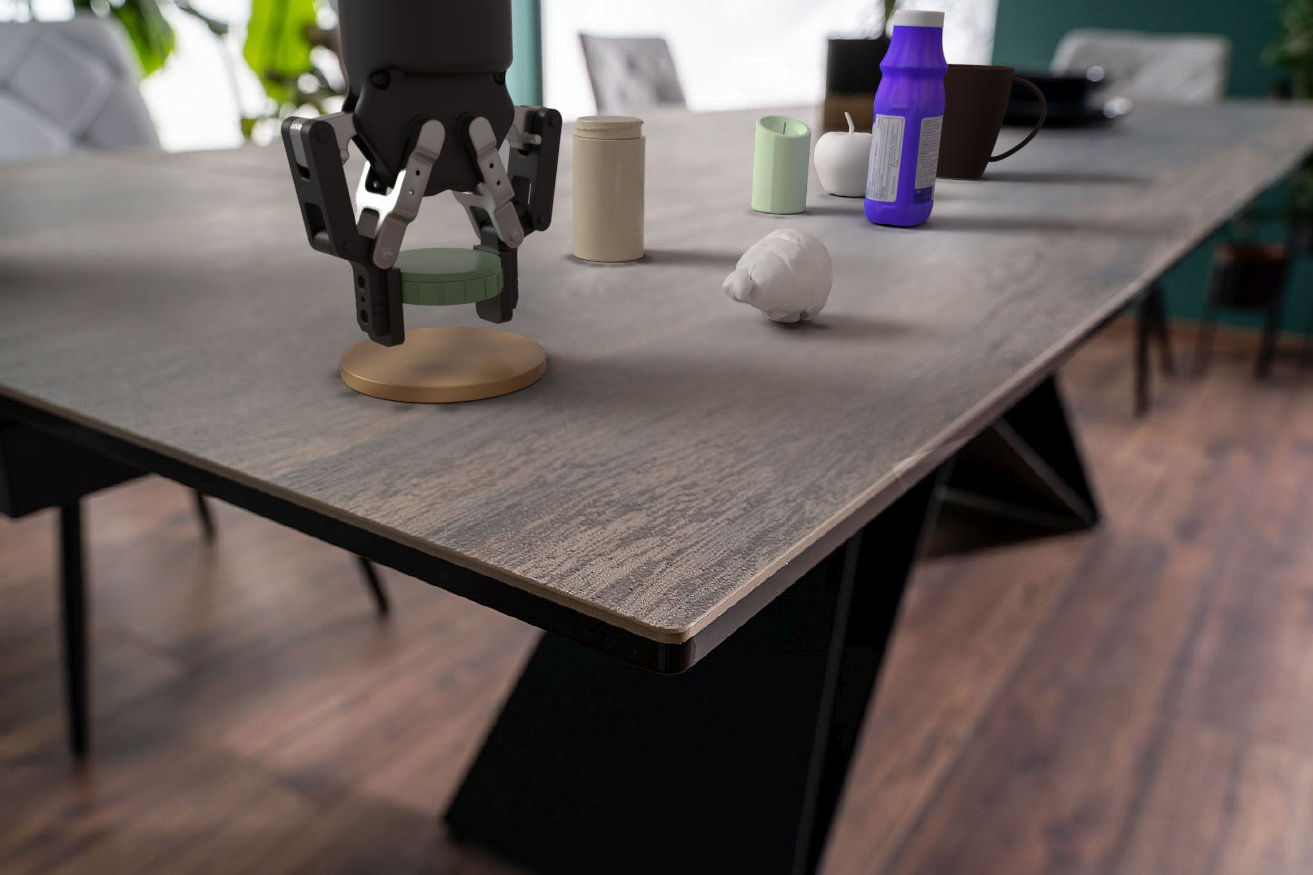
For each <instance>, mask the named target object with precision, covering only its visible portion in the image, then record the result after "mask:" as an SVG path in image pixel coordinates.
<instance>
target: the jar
mask: <svg viewBox="0 0 1313 875" xmlns="http://www.w3.org/2000/svg"><path fill="white" fill-rule="evenodd" d="M643 125H644V120H642V118H640V117H633V116H625V115H623V116H622V115H586V116H584V115H583V116H579V117H577V119H576V125H575V131H576V134H573V135H572V222H573V223H572V224H573V225H572V229H573V231H572V232H573V233H572V234H573V235H572V236H573V238H572V239H573V240H572V242H573V243H572V244H573V255H574V256H575V257H576V258H579V259H582V260H586V261H591V262H605V263H608V262H609V263H615V262H627V261H635V260H638V259H641V258H642V257H644V254H645V247H644V246H645V199H646V154H647V153H646V146H647V145H646V144H647V137H646V136H645V135H643V134H642V131H643Z"/></svg>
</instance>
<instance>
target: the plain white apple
mask: <svg viewBox="0 0 1313 875" xmlns="http://www.w3.org/2000/svg"><path fill="white" fill-rule="evenodd" d="M844 115H845V117H846V120H847V123H848V126H849V130H848V132H846V131H829V132H825V133H824V134H823V135H822V136H821V137H820V138H819V139H818V141H817V142H816V145H815V147H814V151H813V162H814V167H815V169H816V172H817V175H818V178H819V180H820V183H821V186H822V189H823V190H824V191H825V192H826V193H827V194H829V195H832V194H833V195H835V196H842V197H843V196H844V197H852V198H854V197H866V187H867V178H868V169H869V159H870V149H871V140H872V133H869V132H856V131H855V125H854V122H853V120H852V117H851V115H850V113H849V112H847V111H845V112H844Z"/></svg>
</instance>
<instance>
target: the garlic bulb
mask: <svg viewBox="0 0 1313 875" xmlns="http://www.w3.org/2000/svg"><path fill="white" fill-rule="evenodd" d="M833 272H834V270H833V262H832V257H831V254H830V251H829V250H828V248H827V247H826V245H825V244H824V243H823V242H822V241H821V240H820V239H819V238H817V237H816V236H814V235H812V234H810V233H808V232H807V231H804V230H801V229H798V228H789V227H780V228H777V229H774V230H773V231H771V232H770V233H769V234H767V235H766V236H764V237H763V238H761V239H760V240H759V241H758V242H756V243H754V244H753V245H751V246H750V247H749V248H748V249H746V251H745V252H744V253H743V255H741V257H740V259H739V260H738V261H737V262H736V267H735V270H734V271H732V272H731V273H729V274H728V276H726V278H725V279H724V281H723V282H722V291H723V292H724V293H725V295H726V296H728V298H730V300H732V301H734V302H736V303H739V304H746V305H750V306H751V307H754V308H755V310H756V312H757V313H759V314H760V315H762V317H764V318H765V319H767V320H771V321H772V320H774V321H776V322H778V323H779V322H780V323H787V324H793V323H798V322H799V321H800V320H811V319H813V318H815V317H816V316H818V315H819V313H820V312H821V311H822V310H823V309H824V307H825V306H826V304H827V302H828V300H829V296H830V294H831V293H830V292H831V289H832V287H833V286H832V285H833V280H834V276H833V275H834V273H833Z"/></svg>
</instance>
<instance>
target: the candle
mask: <svg viewBox="0 0 1313 875" xmlns="http://www.w3.org/2000/svg"><path fill="white" fill-rule="evenodd" d="M811 141H812V131H811V128H810V127H809V126H808V124H806V123H805V122H804V121H803V122H802V121H800V120H798V119H796V118H792V117H788V116H785V115H779V114H778V115H777V114H776V115H774V114H769V115H763V116H760V117H758V118H757V120H756V121H755V135H754V154H753V170H752V171H753V172H752V190H751V205H750V206H751V209H752V210H754V211H756V212H759V213H763V214H772V215H773V214H774V215H795V214H800V213H803V212H804V211H806V208H807V196H808V184H809V183H808V181H809V180H808V179H809V168H810V156H811V155H810V154H811Z"/></svg>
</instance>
